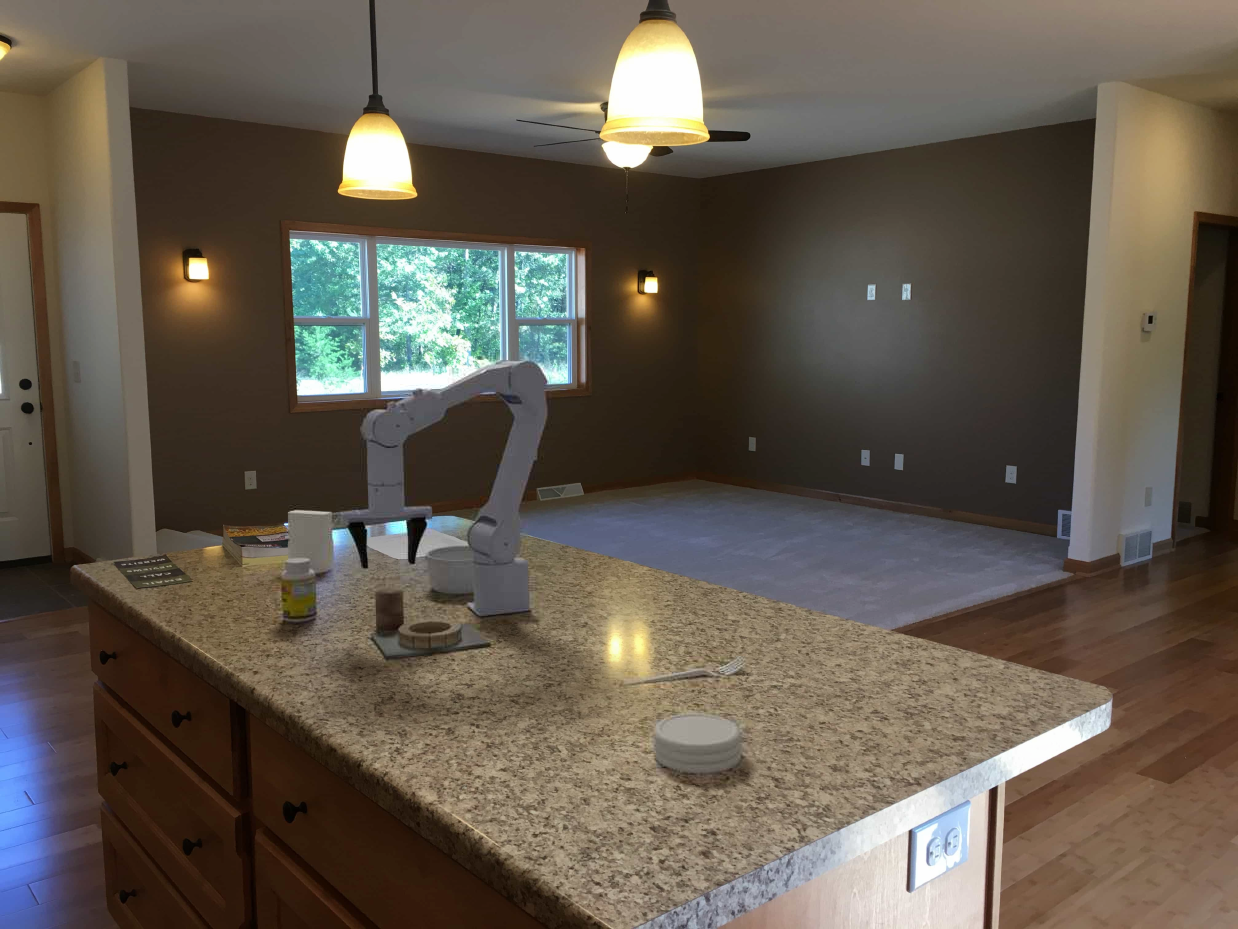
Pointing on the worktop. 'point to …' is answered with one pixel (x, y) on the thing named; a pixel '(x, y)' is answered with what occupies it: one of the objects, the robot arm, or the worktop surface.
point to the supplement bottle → (298, 591)
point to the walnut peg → (389, 609)
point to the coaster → (697, 743)
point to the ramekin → (451, 569)
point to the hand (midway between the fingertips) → (388, 565)
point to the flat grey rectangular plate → (429, 638)
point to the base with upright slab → (311, 538)
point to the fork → (697, 672)
